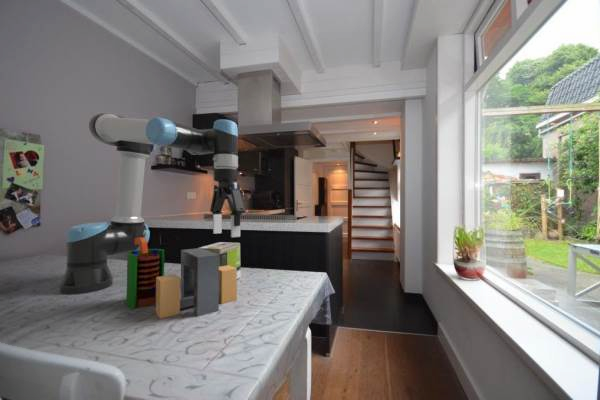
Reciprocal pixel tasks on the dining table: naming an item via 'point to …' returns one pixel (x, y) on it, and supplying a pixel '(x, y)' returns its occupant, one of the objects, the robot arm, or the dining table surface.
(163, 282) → the tan u-shaped piece
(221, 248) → the tea box
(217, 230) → the robot arm
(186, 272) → the housing
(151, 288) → the motor
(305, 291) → the dining table surface
